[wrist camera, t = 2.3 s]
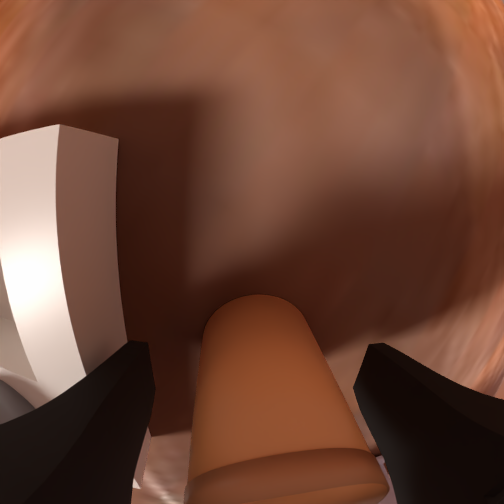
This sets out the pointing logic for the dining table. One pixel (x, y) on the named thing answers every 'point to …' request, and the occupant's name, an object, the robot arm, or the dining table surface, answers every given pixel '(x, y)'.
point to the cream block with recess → (57, 266)
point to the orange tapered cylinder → (273, 416)
